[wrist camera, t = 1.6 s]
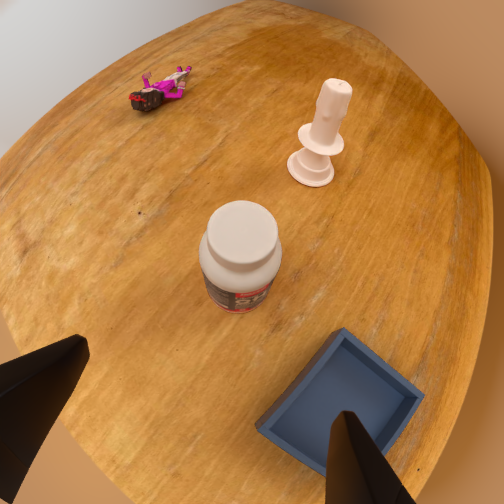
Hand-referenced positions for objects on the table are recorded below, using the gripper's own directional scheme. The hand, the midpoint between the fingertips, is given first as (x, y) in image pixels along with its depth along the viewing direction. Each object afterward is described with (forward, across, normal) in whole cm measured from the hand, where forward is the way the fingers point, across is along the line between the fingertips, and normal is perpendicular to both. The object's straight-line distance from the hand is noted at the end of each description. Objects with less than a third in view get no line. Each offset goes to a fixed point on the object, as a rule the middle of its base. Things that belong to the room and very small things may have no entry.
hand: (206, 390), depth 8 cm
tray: (+9, -10, +11) cm, 18 cm away
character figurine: (+33, +18, -11) cm, 39 cm away
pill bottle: (+16, +1, +5) cm, 17 cm away
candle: (+26, -4, -5) cm, 27 cm away
